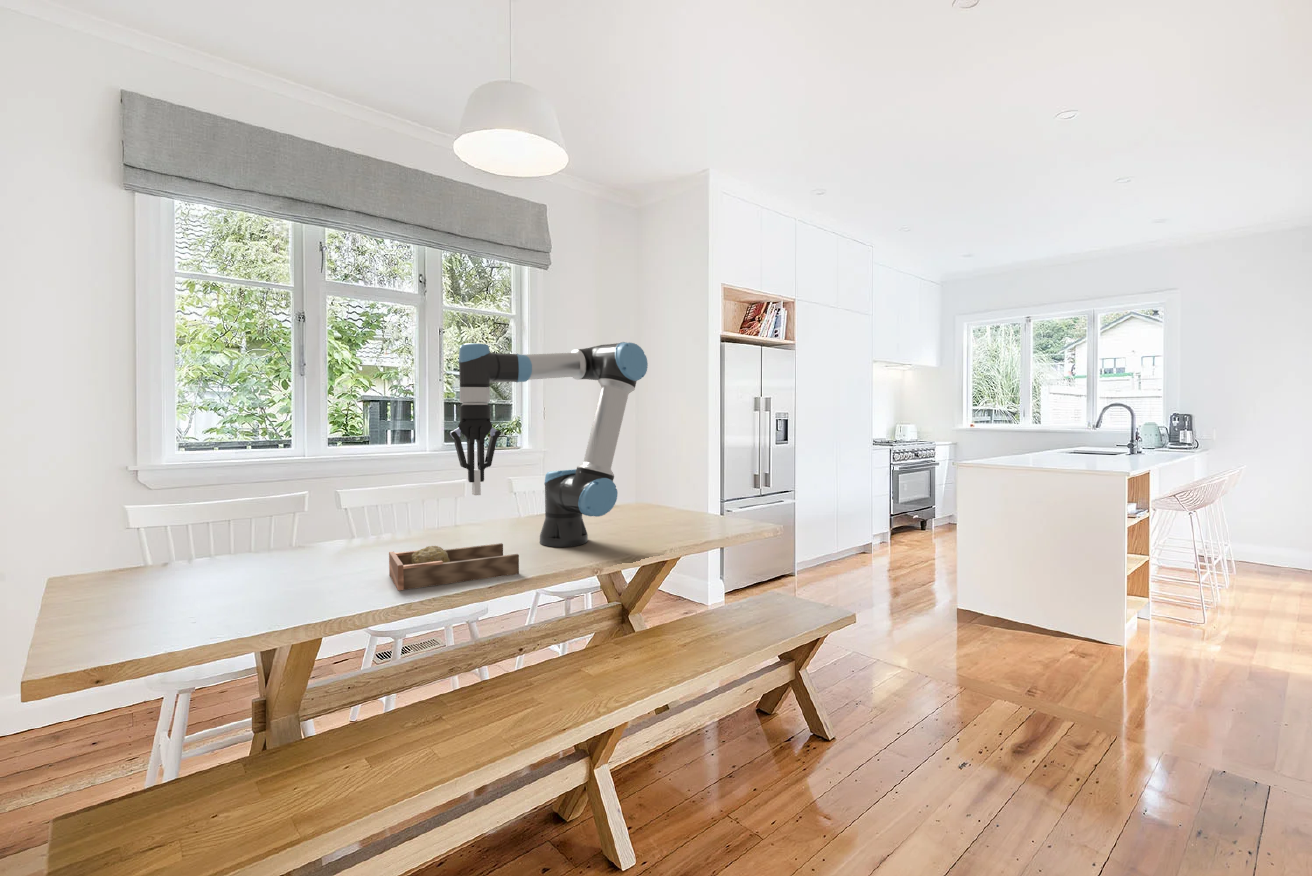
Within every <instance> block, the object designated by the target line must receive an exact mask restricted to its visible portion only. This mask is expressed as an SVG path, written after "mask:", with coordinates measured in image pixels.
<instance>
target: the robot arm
mask: <svg viewBox="0 0 1312 876" xmlns="http://www.w3.org/2000/svg"><path fill="white" fill-rule="evenodd" d="M648 364H649V363H648V357H647V355H646V354H645V351H644V349H643V348H642V347H641V346H640V345H639V344H637V343H635V342H627V341H626V342H625V341H622V342H618V343H617V342H616V343H608V344H600V345H595V346H592V347H586V348H577V349H572V350H571V351H570V352H559V353H558V352H555V353H553V352H552V353H532V354H531V353H530V354H527V353H526V354H520V353H501V352H500V353H497V352H492V351H490V346H489V345H488V344H485V343H469V342H467V343H463V344H461V345H460V346H459V350H458V367H459V368H458V372H459V403H460V404H461V405H459V423H458V425H457V428H455V429H454V430H451V431H450V432H449V436H450V437H451V438H452V440H453V443H454V446H455V450H456V454H457V457H458V461H459V465H460V467H461V468H463V469H466V470H467V480H468V482H469V483H471V490H472V491H471V494H472V495H473V496H481V495H482V494H481V493H482V491H481V490H482V489H481V483H484V481H485V469H486V468H490V467H491V466H492V464H493V459H494V454H495V450H496V446H497V441H498V439H499V437H500V435H501V433H502V432H501V430H497V429H496V428H494V427H493V424H492V422H491V406H490V405H489V404H488V403H491V393H490V391H491V389H490V386H491V385H490V384H491V383H526V382H528V381H530V380H531V381H533V380H545V379H559V378H561V379H563V378H572V379H574V380H577V381H578V380H591V381H592V380H593V381H598V383H599V385H600V388H601V389H600V393H599V397H598V399H597V400H598V401H597V405H596V410H595V413H594V417H593V422H592V424H591V425H592V427H591V429H590V435H589V438H588V441H587V445H586V449H585V454H584V459H583V462H582V463H579V465H577V466H576V469H575V468H574V469H563V470H553V471H551V470H550V471H547V472H546V473H545V476H544V515H545V516H544V521H543V524H542V528H541V530H540V533H539V544H540V545H542V546H547V547H553V548H554V547H557V548H563V547H565V548H566V547H577V546H581V545H584V544H587V543H588V539H589V537H588V536H589V535H588V531H587V529H586V526H585V523H584V519H583V515H584V516H586V517H587V516H588V517H594V518H595V517H596V518H597V517H602V516H605V515H606V514H608V513H610V511H612V509H613V508H614V507H615V506H616V502H617V500H618V489H617V486H616V485H617V484H616V483H615V482H614V479H615V474H614V472H613V470H612V466H613V461H614V456H615V454H616V449H617V444H618V440H619V437H620V432H621V427H622V423H623V420H624V415H625V411H626V407H627V406H626V405H627V403H628V398H629V395H630V393H633V392H635V390H636V384H637V382H638V381H640V380H641V379H642V378H644V377H645V375H646V374H647V372H648V366H649V365H648ZM461 434H462V435H463V437H464V438H465V439H466V453H467V454H466V455H467V456H466V455H465V452H464V448H463V443H462V440H461V438H460V437H461ZM488 434H489V436H490V438H489V440H488V444H487V448H486V454H485V441H486V440H485V438H486V437H487V436H488ZM475 440H476V441H475ZM475 442H476V443H475ZM475 444H476V454H477V455H476V457H477V459H476V460H477V465H476V466H477V468H475ZM466 457H467V459H466Z"/></svg>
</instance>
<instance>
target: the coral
mask: <svg viewBox="0 0 1312 876" xmlns="http://www.w3.org/2000/svg"><path fill="white" fill-rule="evenodd" d="M445 550H446V549H444V548H442V547H441V546H438V545H431V546H430V545H429V546H426V547H424V548H420V549H418V551H417V550H415V551H416V552H414V553H413V554H412V559H411V562H412V564H418V563H426V562H434V561H443V563H446V562H450V559H449V558H448V554H447V553H446V551H445Z"/></svg>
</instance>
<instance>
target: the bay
mask: <svg viewBox="0 0 1312 876" xmlns="http://www.w3.org/2000/svg"><path fill="white" fill-rule="evenodd" d="M418 550H419V549H418ZM418 550H409V551H401V552H395V551H389V552H388V564H389V565H388V568H389V577H390V579H391V581H392V582H393V584H394V586H395V587H396V589H397V591H399V592H400V591H406V590H412V589H414V590H415V589H419V588H427V587H434V586H441V585H447V584H448V585H450V584H456V583H462V582H470V581H478V580H483V579H484V580H485V579H491V578H499V577H505V576H507V577H508V576H513V575H519V574H520V554H518V553H514V554H505V555H504V544H503V542H501V543H493V544H485V545H484V544H483V545H476V546H473V545H472V546H466V547H465V546H464V547H458V548H457V547H456V548H447V549H444V550H445V551H446V553H447V554H448V558H449V559H450V562H446V563H443V561H434V562H426V563H418V564H412V562H411V559H412V554H413V553H414V552H416V551H418Z"/></svg>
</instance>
